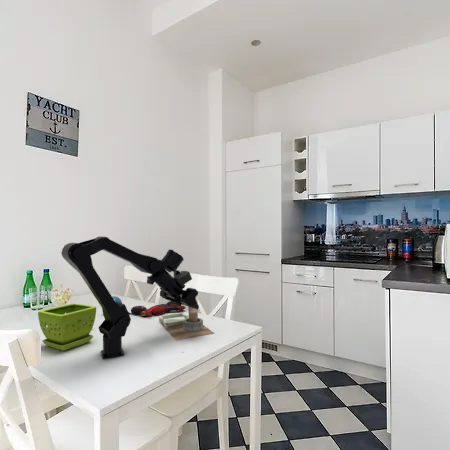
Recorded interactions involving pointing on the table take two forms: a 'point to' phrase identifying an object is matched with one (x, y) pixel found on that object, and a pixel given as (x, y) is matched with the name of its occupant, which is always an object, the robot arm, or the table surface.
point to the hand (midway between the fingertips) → (191, 306)
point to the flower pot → (67, 325)
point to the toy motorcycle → (157, 309)
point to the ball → (116, 299)
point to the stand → (183, 326)
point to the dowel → (193, 313)
